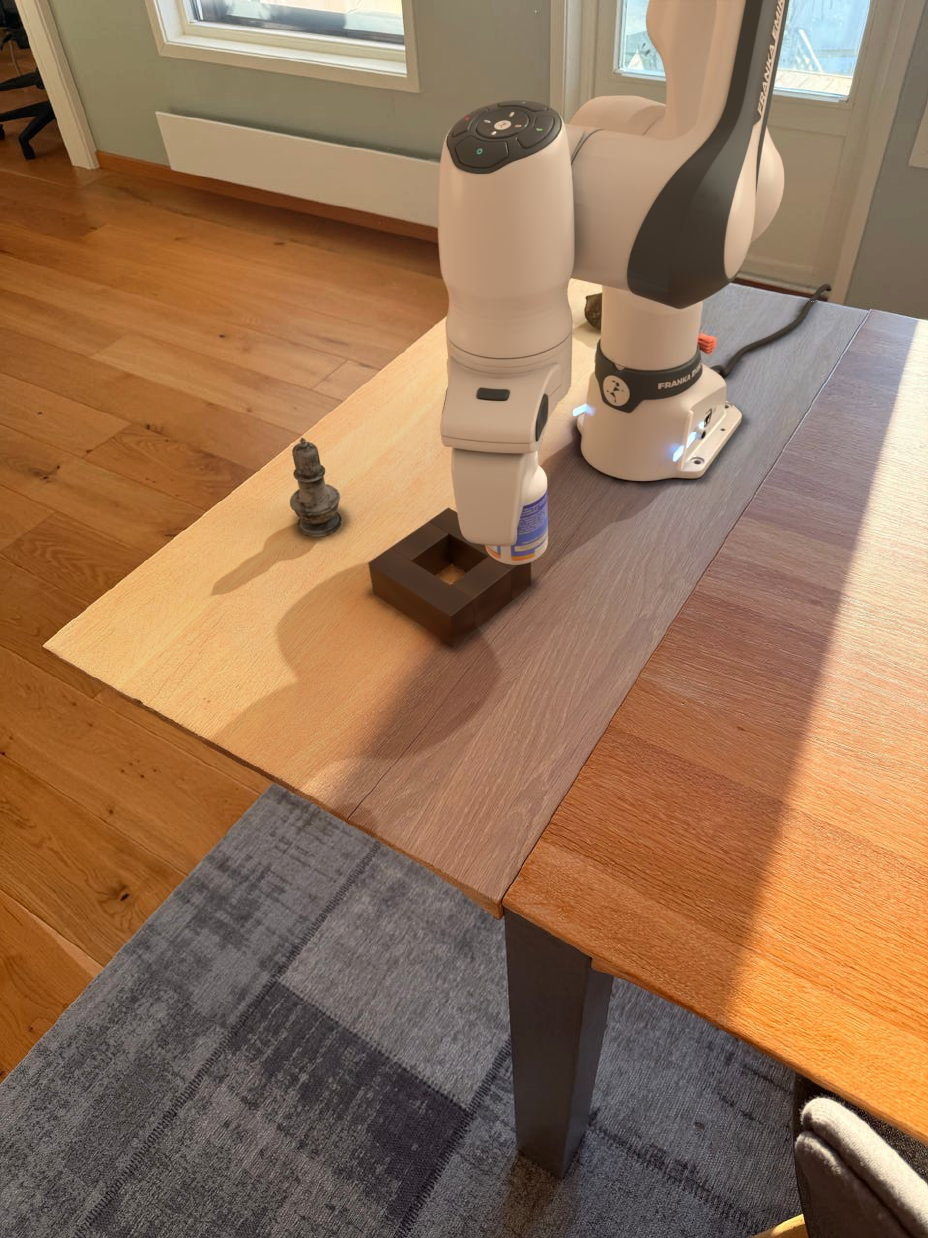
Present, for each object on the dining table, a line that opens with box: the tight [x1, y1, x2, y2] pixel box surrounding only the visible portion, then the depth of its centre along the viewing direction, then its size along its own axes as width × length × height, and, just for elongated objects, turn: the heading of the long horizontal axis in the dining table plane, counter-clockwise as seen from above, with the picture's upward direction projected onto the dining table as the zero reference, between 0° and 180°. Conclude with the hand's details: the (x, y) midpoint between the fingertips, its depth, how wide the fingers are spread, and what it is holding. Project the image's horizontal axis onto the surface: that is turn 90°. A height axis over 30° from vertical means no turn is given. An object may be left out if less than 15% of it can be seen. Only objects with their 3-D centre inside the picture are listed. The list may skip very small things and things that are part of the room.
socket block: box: [367, 507, 532, 648], centre depth 97 cm, size 12×12×4 cm
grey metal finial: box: [289, 437, 343, 538], centre depth 104 cm, size 6×6×12 cm
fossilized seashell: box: [583, 291, 602, 330], centre depth 136 cm, size 8×7×10 cm
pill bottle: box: [485, 452, 549, 565], centre depth 74 cm, size 5×5×10 cm
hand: (514, 513), depth 75 cm, fingers closed on pill bottle, 5 cm apart
